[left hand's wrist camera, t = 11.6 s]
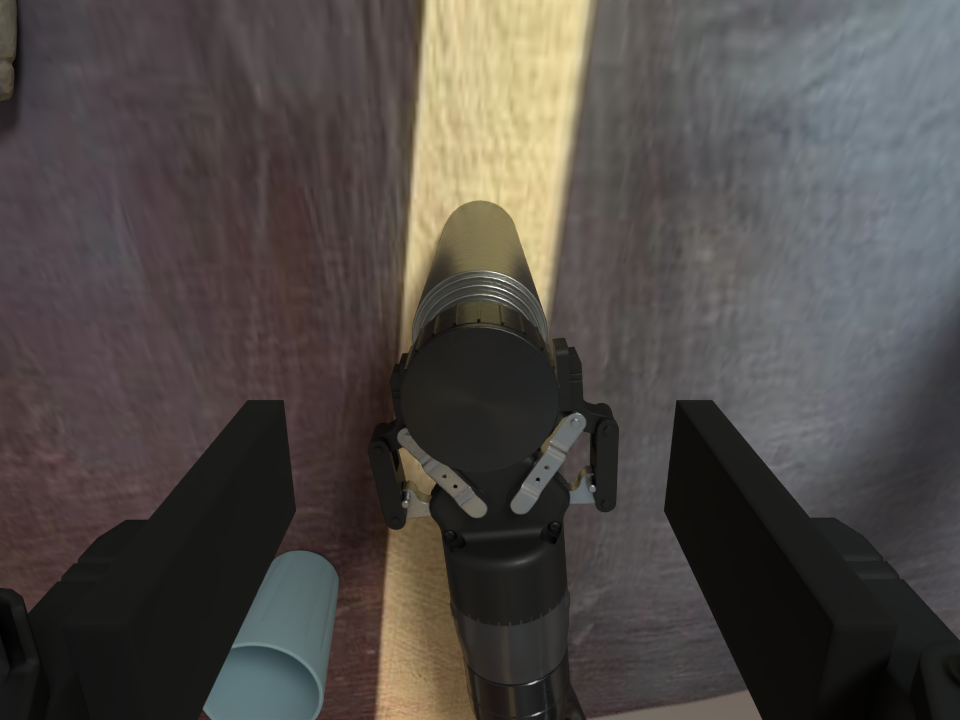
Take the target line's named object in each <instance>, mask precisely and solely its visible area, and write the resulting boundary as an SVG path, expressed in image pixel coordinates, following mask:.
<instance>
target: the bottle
mask: <svg viewBox="0 0 960 720" xmlns="http://www.w3.org/2000/svg"><path fill="white" fill-rule="evenodd" d="M477 300H480V302H490V303H496V304H500V303H502V304H503V306H506V307H509V308H511V309H513V310H515V311H517V312H518V313H520V312H522V313H523V316H524V317H526V318H527V319H528V320H529V321H530V322H531V323H532V324H533V325H534V326H535V327H536V326H537V327H538V328H539V332H540V334H541V335H542V337H543V339H544V341H545V343H546V344H547V338H548V331H547V323H546V318H545V315H544V312H543V309H542V306H541V303H540V300H539V297H538V294H537V291H536V288H535V285H534V282H533V279H532V276H531V273H530V270H529V267H528V264H527V261H526V258H525V255H524V252H523V249H522V246H521V243H520V240H519V237H518V234H517V231H516V228H515V225H514V222H513V220H512V219H511V217H510V216H509V214H508V213H507V212H506V211H505V210H504V209H503V208H501V207H500V206H498V205H496V204H494V203H491V202H487V201H473V202H469V203H466V204H464V205H462V206H460V207H459V208H457V209H456V210H455V211H454V212H453V213H452V214H451V215H450V217H449V218H448V220H447V222H446V224H445V227H444V230H443V233H442V236H441V239H440V242H439V245H438V248H437V251H436V254H435V257H434V260H433V263H432V266H431V269H430V272H429V275H428V278H427V281H426V284H425V287H424V290H423V293H422V296H421V299H420V302H419V305H418V308H417V311H416V315H415V318H414V322H413V328H412V340H413V345H414V343H415V341H416V339H417V337H418V335H419V332H420V329H421V328H424V327H425V326H426V325H427V324H428V323H429V322H430V321H431V320H432V319H433V318H434V317H435V315H436V314H437V313H438V314H440V313H441V312H443V311H445V310H447V309H449V308H451V307H454V306H455V304H458V305H460V304H464V303H469V302H477Z"/></svg>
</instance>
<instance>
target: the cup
mask: <svg viewBox="0 0 960 720" xmlns="http://www.w3.org/2000/svg"><path fill="white" fill-rule="evenodd" d="M338 589H339V578H338V575H337V573H336V570H335V569H334V567H333V566H332V564H331V563H330V562H328V561H327V560H326V559H325V558H323V557H322V556H320V555H318V554H315V553H312V552H309V551H290V552H286V553H284V554H282V555H280V556H278V557H277V558H275V559H274V560H273V561H272V563H271V565H270V567H269V569H268V571H267V573H266V576H265V578H264V580H263V582H262V584H261V586H260V588H259V590H258V593H257V595H256V597H255V599H254V601H253V603H252V605H251V607H250V610H249V612H248V614H247V616H246V618H245V620H244V622H243V624H242V626H241V629H240V631H239V633H238V635H237V637H236V639H235V641H234V643H233V646H232V648H231V650H230V652H229V654H228V656H227V658H226V660H225V663H224V665H223V667H222V669H221V671H220V673H219V675H218V677H217V679H216V682H215V684H214V686H213V688H212V690H211V692H210V694H209V696H208V699H207V701H206V703H205V705H204V707H203V710H204V712H205V713H206V714H207V715H208V716H209V717H210V718H211V720H315V719H316V718H317V716H318V714H319V713H320V710H321V708H322V705H323V699H324V692H325V684H326V677H327V667H328V660H329V653H330V646H331V639H332V632H333V625H334V618H335V611H336V604H337V597H338Z"/></svg>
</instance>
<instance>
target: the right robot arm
mask: <svg viewBox="0 0 960 720" xmlns="http://www.w3.org/2000/svg"><path fill="white" fill-rule="evenodd" d="M552 347H553V361H554V365H555V368H556V369H554V370H555V373H556V377H557V380H558V383H559V387H560V391H559V397H560V403H559V412H558V416H557V420H556V422H555V425H554V427H553V430H552V431H551V433H550V435H549V437H548V438H547V439H546V441H545V442H544V443H543V445H542V446H541V447H540V448H539V449H538V450H537V451H536V452H535V453H533V454H532V455H531V456H530V457H528V458H527V459H525V460H523V461H522V462H520V463H518V464H516V465H514V466H511V467H509V468H506V469H502V470H498V471H493V472H482V473H480V472H467V471H461V470H458V469H454V468H451V467H449V466H446V465H444V464H442V463H440V462H438V461H436V460H435V459H433V458H432V457H430V456H429V455H428V454H426V453H425V452H424V451H423V450H422V449H421V448H420V447H419V446H418V445H417V443H416V442H415V441H414V440H413V438H412V437H411V435H410V433H409V432H408V430H407V427H406V425H405V423H404V420H403V416H402V412H401V405H400V388H401V384H402V381H403V378H404V374H405V371H403V370H404V367H405V364H406V361H407V357H408V354H409V353H403V354H402V357H401V360H400V364H395V367H394V370H393V372H392V376H391V380H390V385H391V390H392V397H393V403H394V410H395V416H396V419H395V420H394V421H392V422H390V423H380V424H378V425H377V426H376V428H375V430H374V433H373V436H372V439H371V441H370V444H369V447H368V454H369V458H370V462H371V466H372V470H373V474H374V478H375V482H376V486H377V490H378V494H379V498H380V502H381V506H382V510H383V514H384V518H385V522H386V525H387V526H388V527H389V528H391V529H394V530H398V529H401V528H403V527H404V525H405V523H406V519H411V518H419V517H426V516H432V517H433V519H434V520H435V521H436V522H437V523H438V525H439V527H440V529H441V534H442V540H443V547H444V554H445V561H446V568H447V575H448V582H449V589H450V596H451V599H450V609H451V613H452V616H453V618H454V623H455V628H456V632H457V636H458V639H459V642H460V645H461V648H462V653H463V658H464V665H465V673H466V680H467V688H468V694H469V699H470V703H471V707H472V710H473V713H474V715H475V717H476V719H477V720H586V718H585V716H584V713H583V711H582V709H581V706H580V704H579V701H578V698H577V696H576V694H575V692H574V690H573V688H572V686H571V683H570V676H569V661H568V647H567V635H568V626H569V605H570V593H569V591H568V587H567V572H566V557H565V542H564V527H563V517H564V514H565V511H566V510H567V508H568V506H569V504H595V505H596V507H597V509H598V510H599V511H601V512H609V511H611V510H613V509H614V508H615V506H616V493H617V466H618V439H619V427H618V425H617V423H616V421H615V420H614V418H613V415H612V411H611V409H610V407H609V406H608V405H607V404H605V403H599V404H596V405H595V404H590V403H587V402H585V401H584V400H583V386H582V366H581V361H580V359H579V356H578V354H577V352H576V350H575V348H574V347H568V346H567V343H566V340H565V338H557V339H552ZM582 431H585V432H589V433H590V466H584V467H583V468H582V469H581V470H580V471H579V474H578V478H577V479H576V480H575V481H574V482H572V483H568V484H567V482H566V480H565V479H564V478H563V477H562V476H561V475H560V474H559V472H558V471H557V470H558V469H559V467H560V466H561V465H562V463H563V462H564V460H565V459H566V456H567V452H568V450H569V448H570V447H571V446H572V444H573V443H574V442H575V440H576V439H577V438H578V436H579V435H580V434H581V432H582ZM402 447H404V448H405V449H406V450H407V451H408V452H409V453H410V454H412V455H413V456H414V457H415V458H416V459H417V460H418V461H419V462H420V463H421V465H422V467H423V469H424V471H425V472H426V473H427V474H428V475H429V476H430V477H431V478H432V479H433V480H434V481H435V482H436V485H435V486H434V488H433V490H432V492H431V495H425V494H422V493H421V492H420V491H419V490H418V487H417V485H416V484H414V483H413V482H412V481H407V482H406V479H405V475H404V471H403V466H402V462H401V458H400V453H399V449H400V448H402Z"/></svg>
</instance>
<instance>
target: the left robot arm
mask: <svg viewBox="0 0 960 720" xmlns="http://www.w3.org/2000/svg"><path fill="white" fill-rule="evenodd" d="M295 512H296V507H295V498H294V489H293V480H292V471H291V462H290V453H289V444H288V435H287V427H286V418H285V409H284V400H247V402H246V403H245V404H244V405H243V407H242V408H241V409H240V410H239V411H238V413H237V414H236V415H235V416H234V417H233V419H232V420H231V421H230V422H229V423H228V425H227V426H226V427H225V428H224V429H223V431H222V432H221V433H220V434H219V435H218V437H217V438H216V439H215V440H214V441H213V443H212V444H211V445H210V446H209V447H208V449H207V450H206V451H205V452H204V453H203V455H202V456H201V457H200V458H199V459H198V461H197V462H196V463H195V464H194V465H193V467H192V468H191V469H190V470H189V471H188V473H187V474H186V475H185V476H184V477H183V479H182V480H181V481H180V482H179V484H178V485H177V486H176V487H175V488H174V490H173V491H172V492H171V493H170V494H169V496H168V497H167V498H166V499H165V500H164V502H163V503H162V504H161V505H160V506H159V508H158V509H157V510H156V511H155V512H154V514H153V515H152V516H151V517H150V518H149V520H125V521H124V522H122V523H120V524H119V525H117V526H116V527H114V528H112V529H111V530H109V531H108V532H106V533H105V534H103V535H101V536H100V537H98V538H97V539H96V540H95V541H94V542H93V543H92V544H91V546H90V547H89V548H88V549H87V550H86V551H85V552H84V553H83V554H82V555H81V556H80V558H79V559H78V563H77V564H73V565H72V566H71V567H70V568H69V570H68V571H67V572H66V573H65V574H64V575H63V576H62V579H61V582H57V583H56V584H55V585H54V586H53V587H52V588H51V589H50V590H49V591H48V592H47V594H46V595H45V596H44V597H43V598H42V599H41V600H40V601H39V602H38V603H37V604H36V606H35V607H34V608H33V609H32V610H31V611H30V612H29V613H27V610H26V607H25V603H24V600H23V597H22V596H21V595H19V594H18V593H16V592H15V591H14V590H12V589H5V588H0V720H198V718H199V716H200V713H201V711H202V709H203V707H204V705H205V703H206V701H207V699H208V696H209V694H210V692H211V690H212V688H213V686H214V684H215V682H216V679H217V677H218V675H219V673H220V671H221V669H222V667H223V665H224V663H225V660H226V658H227V656H228V654H229V652H230V650H231V648H232V646H233V643H234V641H235V639H236V637H237V635H238V633H239V631H240V629H241V626H242V624H243V622H244V620H245V618H246V616H247V614H248V612H249V610H250V607H251V605H252V603H253V601H254V599H255V597H256V595H257V593H258V590H259V588H260V586H261V584H262V582H263V580H264V578H265V576H266V573H267V571H268V569H269V567H270V565H271V563H272V561H273V559H274V557H275V554H276V552H277V550H278V548H279V546H280V544H281V542H282V540H283V537H284V535H285V533H286V531H287V529H288V527H289V525H290V523H291V520H292V518H293V516H294V514H295ZM664 512H665V514H666V516H667V518H668V520H669V523H670V525H671V527H672V529H673V531H674V533H675V535H676V537H677V540H678V542H679V544H680V546H681V548H682V550H683V552H684V554H685V557H686V559H687V561H688V563H689V565H690V567H691V569H692V571H693V573H694V576H695V578H696V580H697V582H698V584H699V586H700V588H701V590H702V593H703V595H704V597H705V599H706V601H707V603H708V605H709V607H710V610H711V612H712V614H713V616H714V618H715V620H716V622H717V624H718V626H719V629H720V631H721V633H722V635H723V637H724V639H725V641H726V643H727V646H728V648H729V650H730V652H731V654H732V656H733V658H734V660H735V663H736V665H737V667H738V669H739V671H740V673H741V675H742V677H743V680H744V682H745V684H746V686H747V688H748V690H749V692H750V694H751V696H752V698H753V701H754V703H755V705H756V707H757V709H758V711H759V713H760V715H761V718H762V720H960V640H959V639H958V638H957V637H956V636H955V635H954V634H953V633H952V632H951V631H950V629H949V628H948V627H947V626H946V625H945V624H944V623H943V622H942V621H941V620H940V619H939V618H938V616H937V615H936V614H935V613H934V612H933V611H932V610H931V609H930V608H929V607H928V606H927V605H926V603H925V602H924V601H923V600H922V599H921V598H920V597H919V596H918V595H917V594H916V593H915V592H914V590H913V589H912V588H911V587H910V586H909V585H908V584H907V583H906V582H905V581H904V580H903V579H900V578H899V574H898V573H897V572H896V571H895V570H894V569H893V568H892V567H891V566H890V564H889V563H888V562H887V561H883V557H882V556H881V555H880V554H879V553H878V551H877V550H876V549H875V548H874V547H873V546H872V545H871V544H870V543H869V542H868V541H867V540H866V538H865V537H864V536H863V535H861V534H859V533H858V532H856V531H855V530H853V529H851V528H850V527H848V526H847V525H845V524H843V523H842V522H840V521H839V520H837V519H835V518H810V517H809V516H808V515H807V514H806V512H805V511H804V510H803V509H802V508H801V506H800V505H799V504H798V503H797V502H796V500H795V499H794V498H793V497H792V496H791V494H790V493H789V492H788V491H787V490H786V488H785V487H784V486H783V485H782V484H781V482H780V481H779V480H778V479H777V478H776V476H775V475H774V474H773V473H772V471H771V470H770V469H769V468H768V467H767V465H766V464H765V463H764V462H763V461H762V459H761V458H760V457H759V456H758V455H757V453H756V452H755V451H754V450H753V449H752V447H751V446H750V445H749V444H748V443H747V441H746V440H745V439H744V438H743V437H742V435H741V434H740V433H739V432H738V431H737V429H736V428H735V427H734V426H733V425H732V423H731V422H730V421H729V420H728V419H727V417H726V416H725V415H724V414H723V413H722V411H721V410H720V409H719V408H718V407H717V405H716V404H715V403H714V402H713V401H712V400H676V409H675V418H674V427H673V435H672V444H671V453H670V462H669V471H668V480H667V489H666V498H665V506H664Z"/></svg>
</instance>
